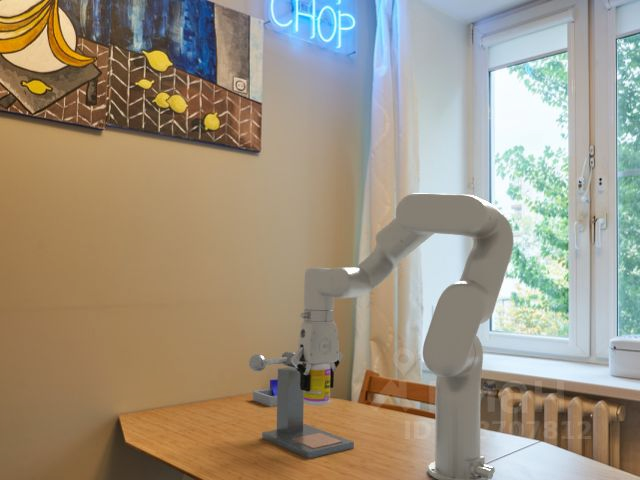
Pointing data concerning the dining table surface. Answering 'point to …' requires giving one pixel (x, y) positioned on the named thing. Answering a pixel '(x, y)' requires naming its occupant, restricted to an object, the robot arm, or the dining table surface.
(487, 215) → the robot arm
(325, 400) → the supplement bottle
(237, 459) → the dining table surface
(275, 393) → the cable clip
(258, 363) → the press lever
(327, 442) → the press frame
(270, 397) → the tray
